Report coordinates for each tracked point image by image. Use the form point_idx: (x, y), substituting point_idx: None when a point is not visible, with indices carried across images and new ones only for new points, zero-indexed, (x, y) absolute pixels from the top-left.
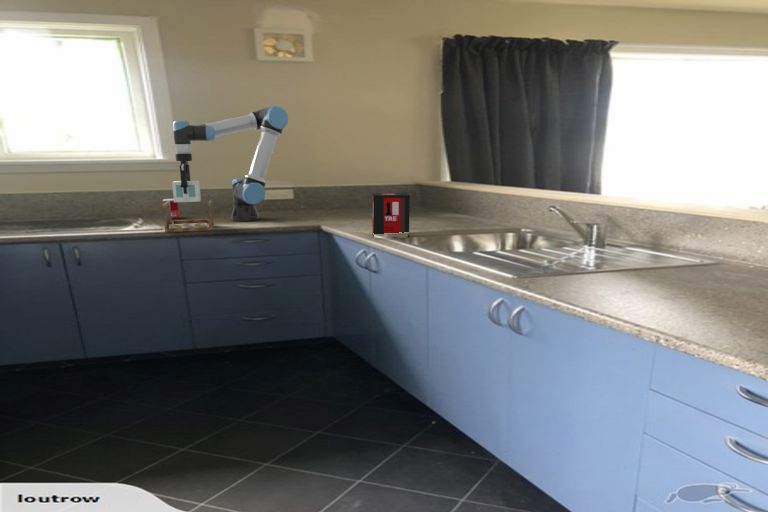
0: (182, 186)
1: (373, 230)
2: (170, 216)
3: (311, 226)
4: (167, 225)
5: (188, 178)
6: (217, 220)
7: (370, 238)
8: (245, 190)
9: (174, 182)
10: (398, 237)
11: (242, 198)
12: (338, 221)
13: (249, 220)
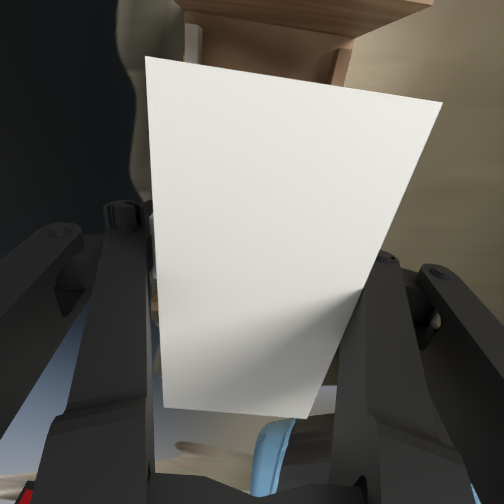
0: (112, 228)
1: (25, 499)
2: (339, 24)
3: (182, 441)
4: (211, 11)
5: (342, 368)
6: (428, 260)
7: (30, 478)
8: (252, 485)
9: (152, 118)
10: None
11: (301, 428)
12: (235, 477)
13: (337, 351)
